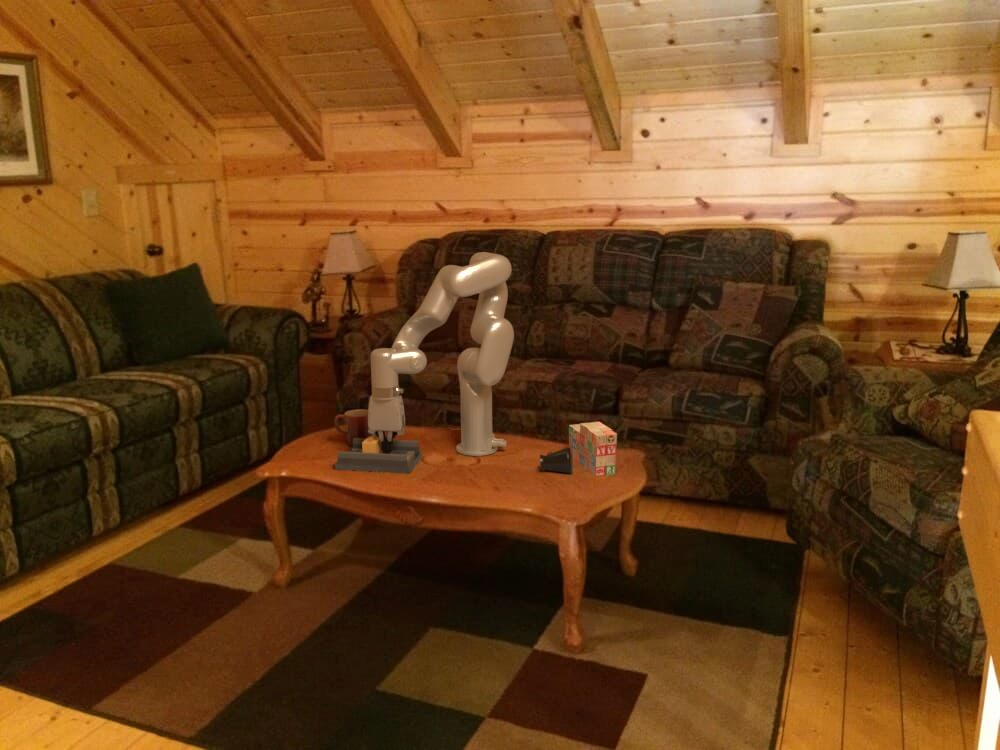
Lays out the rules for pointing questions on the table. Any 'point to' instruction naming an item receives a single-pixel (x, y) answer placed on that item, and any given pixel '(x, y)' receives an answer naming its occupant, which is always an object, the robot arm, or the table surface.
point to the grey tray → (378, 455)
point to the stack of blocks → (594, 447)
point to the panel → (411, 463)
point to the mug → (355, 424)
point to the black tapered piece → (557, 461)
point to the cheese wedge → (371, 445)
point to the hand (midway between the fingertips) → (387, 453)
